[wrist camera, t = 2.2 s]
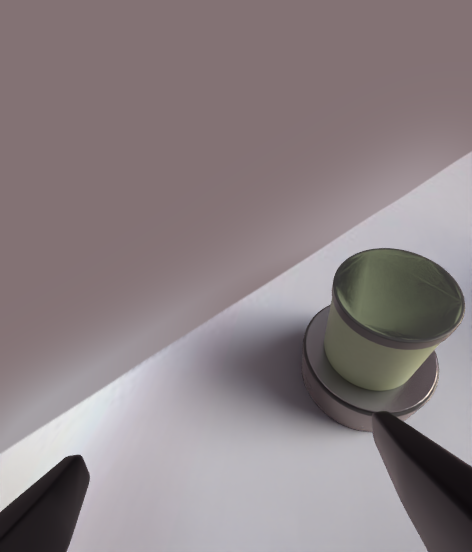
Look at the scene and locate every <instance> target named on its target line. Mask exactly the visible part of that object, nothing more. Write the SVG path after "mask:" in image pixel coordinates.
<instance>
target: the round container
mask: <svg viewBox="0 0 472 552" xmlns="http://www.w3.org/2000/svg"><path fill="white" fill-rule="evenodd" d="M330 306H331V305H329V306H327V307H325V308H324V309H322V310H321V311H320V312H318V313H317V314H316V315H315V316H314V317H313V319H312V320H311V321H310V323H309V325H308V327H307V329H306V332H305V335H304V341H303V356H302V375H303V380H304V383H305V386H306V388H307V390H308V392H309V394H310V396H311V398H312V399H313V401H314V402H315V403H316V404H317V406H318V407H319V408H320V409H321V410H322V411H323V412H324V413H325V414H326V415H328V416H329V417H330V418H332V419H333V420H335V421H336V422H338V423H340V424H342V425H344V426H346V427H349V428H352V429H355V430H360V431H365V432H373V427H372V413H374V412H378V411H388V412H390V413H391V414H393V415H394V416H396V417H397V418H399V419H400V420H402V421H403V422H404V421H405V420H406V419H407V418H409V417H410V416H411V415H412V414H414V413H415V412H416V411H417V410H418V409H420V408H421V407H422V406H423V405H424V404H425V403H426V402H427V401H429V399H430V398H431V396H432V395H433V393H434V391H435V389H436V387H437V383H438V379H439V365H438V359H437V356H436V353H435V350H434V351H433V352H432V353H431V354H430V355H429V356H428V358H427V359H426V360H425V361H424V362H423V363H422V364H421V366H420V367H419V368H418V369H417V370H416V371H415V372H414V374H413V375H412V376H411V377H410V378H409V379H408V380H407V381H406V382H405V383H404V384H402V385H401V386H399V387H397V388H394V389H390V390H384V391H375V390H368V389H365V388H361V387H359V386H356V385H354V384H352V383H350V382H349V381H347V380H346V379H344V378H343V377H342V376H341V375H340V374H339V373H338V372H337V371H336V370H335V369H334V368H333V366H332V365H331V363H330V362H329V360H328V358H327V355H326V352H325V347H324V339H325V333H326V328H327V323H328V317H329V312H330Z"/></svg>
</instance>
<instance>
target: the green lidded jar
mask: <svg viewBox="0 0 472 552" xmlns="http://www.w3.org/2000/svg"><path fill="white" fill-rule="evenodd" d="M464 313H465V301H464V296H463V293H462V291H461V289H460V287H459V285H458V284H457V282H456V281H455V280H454V278H453V277H452V276H451V275H450V274H449V273H448V272H447V271H446V270H444V269H443V268H442V267H441V266H439V265H438V264H436V263H435V262H433V261H431V260H429V259H427V258H425V257H423V256H421V255H418V254H415V253H412V252H409V251H404V250H399V249H391V248H379V249H370V250H366V251H362V252H359V253H357V254H355V255H353V256H351V257H349V258H348V259H346V260H345V261H344V262H343V263H342V264H341V265H340V267H339V268H338V270H337V271H336V273H335V276H334V280H333V286H332V301H331V306H330V312H329V317H328V323H327V328H326V333H325V339H324V347H325V352H326V355H327V358H328V360H329V362H330V363H331V365H332V366H333V368H334V369H335V370H336V371H337V372H338V373H339V374H340V375H341V376H342V377H343V378H344V379H346V380H347V381H349V382H350V383H352V384H354V385H356V386H359V387H361V388H365V389H368V390H375V391H384V390H390V389H394V388H397V387H399V386H401V385H402V384H404V383H405V382H406V381H407V380H408V379H409V378H410V377H411V376H412V375H413V374H414V372H415V371H416V370H417V369H418V368H419V367H420V366H421V364H422V363H423V362H424V361H425V360H426V359H427V358H428V356H429V355H430V354H431V353H432V352H433V351H434V350H435V348H436V347H437V346H438V345H439V344H440V343H441V342H442V341H444V340H446V339H447V338H448V337H449V336H450V335H451V334H452V333H453V332H454V331H455V330H456V328H457V327H458V326H459V324H460V323H461V321H462V319H463V317H464Z"/></svg>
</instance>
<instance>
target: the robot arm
mask: <svg viewBox="0 0 472 552" xmlns="http://www.w3.org/2000/svg"><path fill="white" fill-rule="evenodd" d="M372 427H373V437H374V441H375V443H376V446H377V448H378V450H379V453H380V455H381V457H382V459H383V462H384V464H385V466H386V469H387V471H388V473H389V475H390V478H391V480H392V482H393V484H394V487H395V489H396V491H397V494H398V496H399V498H400V500H401V502H402V504H403V506H404V508H405V510H406V512H407V514H408V515H409V517H410V519H411V521H412V523H413V525H414V526H415V528H416V530H417V532H418V534H419V535H420V537H421V539H422V541H423V543H424V545H425V546H426V548H427V550H428V552H472V467H471V466H470V465H468V464H467V463H465V462H464V461H462V460H461V459H459V458H458V457H456V456H455V455H453V454H452V453H450V452H449V451H447V450H446V449H444V448H443V447H441V446H440V445H438V444H437V443H435V442H433V441H432V440H430V439H429V438H427V437H426V436H424V435H423V434H421V433H420V432H418V431H417V430H415V429H414V428H412V427H411V426H409V425H408V424H406V423H405V422H403V421H402V420H400V419H399V418H397V417H396V416H394V415H393V414H391V413H390V412H388V411H378V412H374V413H372ZM89 480H90V475H89V471H88V469H87V467H86V464H85V462H84V460H83V457H82V456H81V455H73V456H68V457H65V458H64V459H63V460H62V461H60V462H59V463H58V464H57V465H56V466H55V467H53V468H52V469H51V470H50V471H49V472H47V473H46V474H45V475H44V476H43V477H41V478H40V479H39V480H38V481H37V482H36V483H34V484H33V485H32V486H31V487H30V488H28V489H27V490H26V491H25V492H24V493H22V494H21V495H20V496H19V497H18V498H17V499H15V500H14V501H13V502H12V503H11V504H9V505H8V506H7V507H6V508H5V509H3V510H2V511H1V512H0V552H67V549H68V546H69V544H70V541H71V538H72V535H73V532H74V529H75V526H76V523H77V520H78V516H79V513H80V510H81V507H82V504H83V501H84V497H85V494H86V491H87V488H88V485H89Z"/></svg>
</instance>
